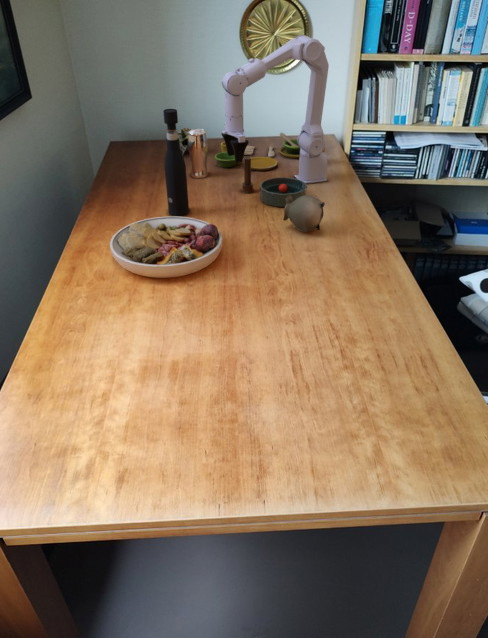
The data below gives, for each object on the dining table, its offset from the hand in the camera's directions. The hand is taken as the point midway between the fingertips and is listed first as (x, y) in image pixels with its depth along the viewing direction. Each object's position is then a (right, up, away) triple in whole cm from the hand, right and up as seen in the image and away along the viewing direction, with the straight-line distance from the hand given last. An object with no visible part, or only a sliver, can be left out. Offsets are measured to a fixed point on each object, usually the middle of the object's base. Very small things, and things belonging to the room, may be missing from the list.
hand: (235, 158), depth 183 cm
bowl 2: (+16, -13, -1) cm, 21 cm away
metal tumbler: (-13, 0, +17) cm, 21 cm away
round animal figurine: (+21, -29, -19) cm, 40 cm away
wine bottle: (-18, -20, -9) cm, 28 cm away
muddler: (+4, -9, +5) cm, 11 cm away
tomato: (+16, -9, +1) cm, 19 cm away
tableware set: (+13, +11, +30) cm, 34 cm away
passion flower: (-21, +16, +35) cm, 44 cm away
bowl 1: (-18, -39, -31) cm, 53 cm away
